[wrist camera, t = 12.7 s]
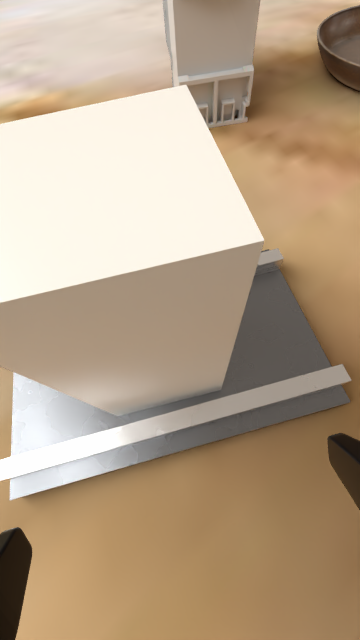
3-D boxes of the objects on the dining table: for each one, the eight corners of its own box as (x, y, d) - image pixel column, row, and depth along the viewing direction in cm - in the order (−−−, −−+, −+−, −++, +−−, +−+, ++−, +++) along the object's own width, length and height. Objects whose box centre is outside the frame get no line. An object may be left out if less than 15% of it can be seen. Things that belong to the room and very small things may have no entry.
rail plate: (342, 404, 16) (361, 398, 15) (20, 497, 16) (-6, 503, 14) (266, 257, 22) (272, 238, 20) (23, 320, 21) (4, 306, 19)
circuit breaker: (221, 64, 37) (232, -157, 24) (247, 121, 31) (282, -138, 17) (168, 73, 37) (148, -143, 24) (182, 132, 31) (166, -118, 17)
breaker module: (220, 389, 16) (264, 240, 5) (117, 416, 16) (-97, 325, 5) (192, 296, 20) (178, 68, 8) (105, 317, 19) (-40, 114, 8)
